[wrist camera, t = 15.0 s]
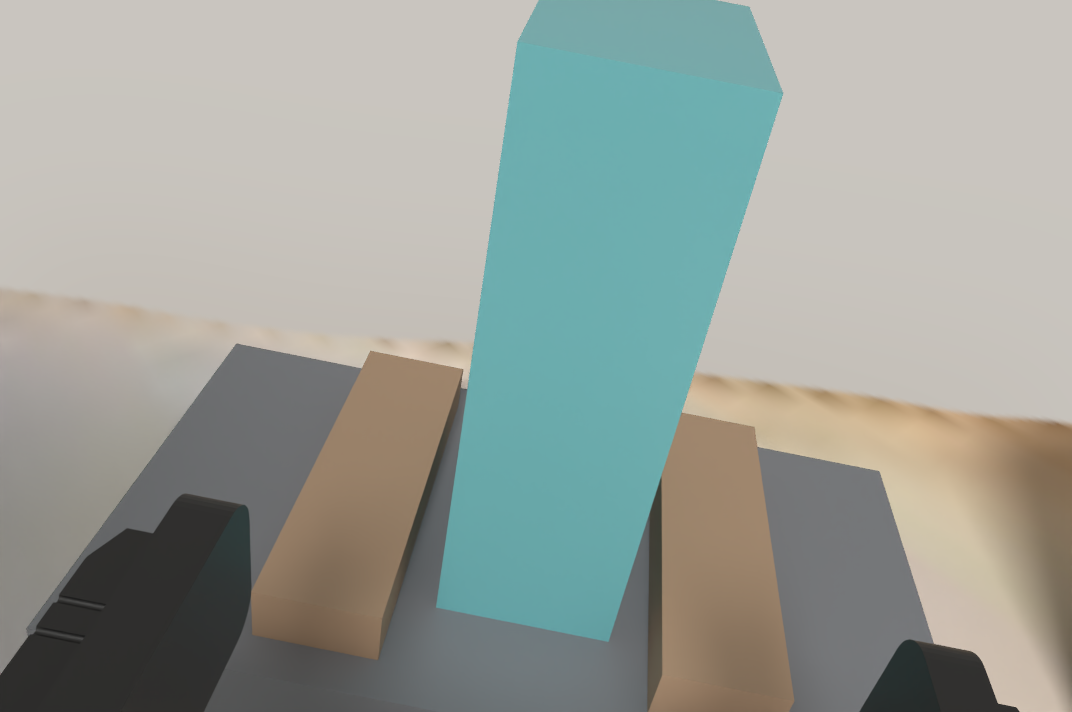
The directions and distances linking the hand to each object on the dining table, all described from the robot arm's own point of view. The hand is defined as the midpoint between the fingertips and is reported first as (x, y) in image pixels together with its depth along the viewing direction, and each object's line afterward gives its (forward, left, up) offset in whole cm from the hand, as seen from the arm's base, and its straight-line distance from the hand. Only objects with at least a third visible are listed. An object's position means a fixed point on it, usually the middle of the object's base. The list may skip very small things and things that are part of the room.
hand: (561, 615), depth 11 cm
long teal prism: (0, +11, -9) cm, 14 cm away
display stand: (0, +11, -11) cm, 15 cm away
